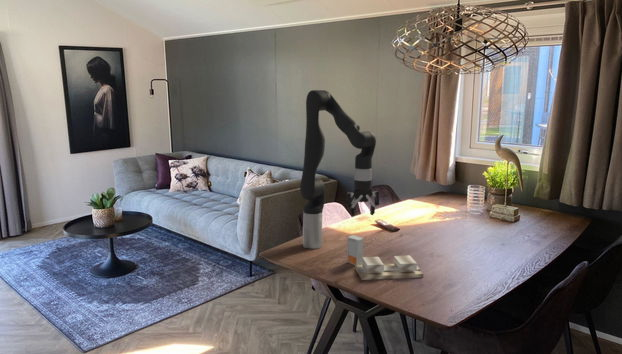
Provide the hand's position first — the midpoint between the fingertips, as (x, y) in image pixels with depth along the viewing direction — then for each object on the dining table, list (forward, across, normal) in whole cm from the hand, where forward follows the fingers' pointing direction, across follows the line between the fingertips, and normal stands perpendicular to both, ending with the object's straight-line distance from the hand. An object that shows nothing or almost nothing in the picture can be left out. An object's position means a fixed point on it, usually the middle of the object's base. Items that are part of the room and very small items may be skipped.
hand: (362, 215), depth 202 cm
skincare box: (+23, +2, -2) cm, 23 cm away
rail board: (+23, -9, +11) cm, 27 cm away
